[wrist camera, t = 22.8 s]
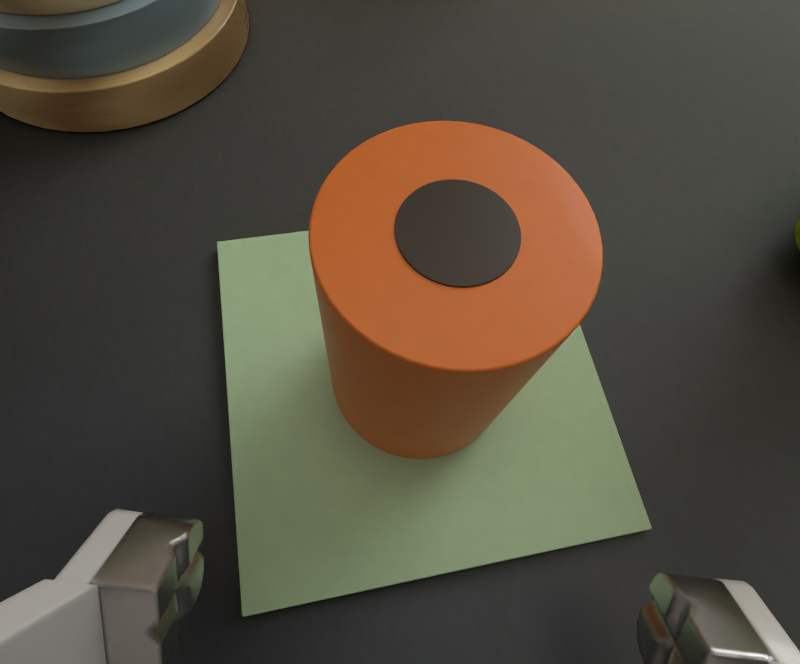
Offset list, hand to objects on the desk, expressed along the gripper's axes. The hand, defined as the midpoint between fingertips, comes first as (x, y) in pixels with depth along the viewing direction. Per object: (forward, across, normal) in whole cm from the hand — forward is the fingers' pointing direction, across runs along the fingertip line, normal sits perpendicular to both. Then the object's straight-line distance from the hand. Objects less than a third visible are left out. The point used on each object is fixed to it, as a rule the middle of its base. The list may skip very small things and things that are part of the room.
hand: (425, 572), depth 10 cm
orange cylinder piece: (+8, 0, 0) cm, 8 cm away
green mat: (+9, 0, 0) cm, 9 cm away
